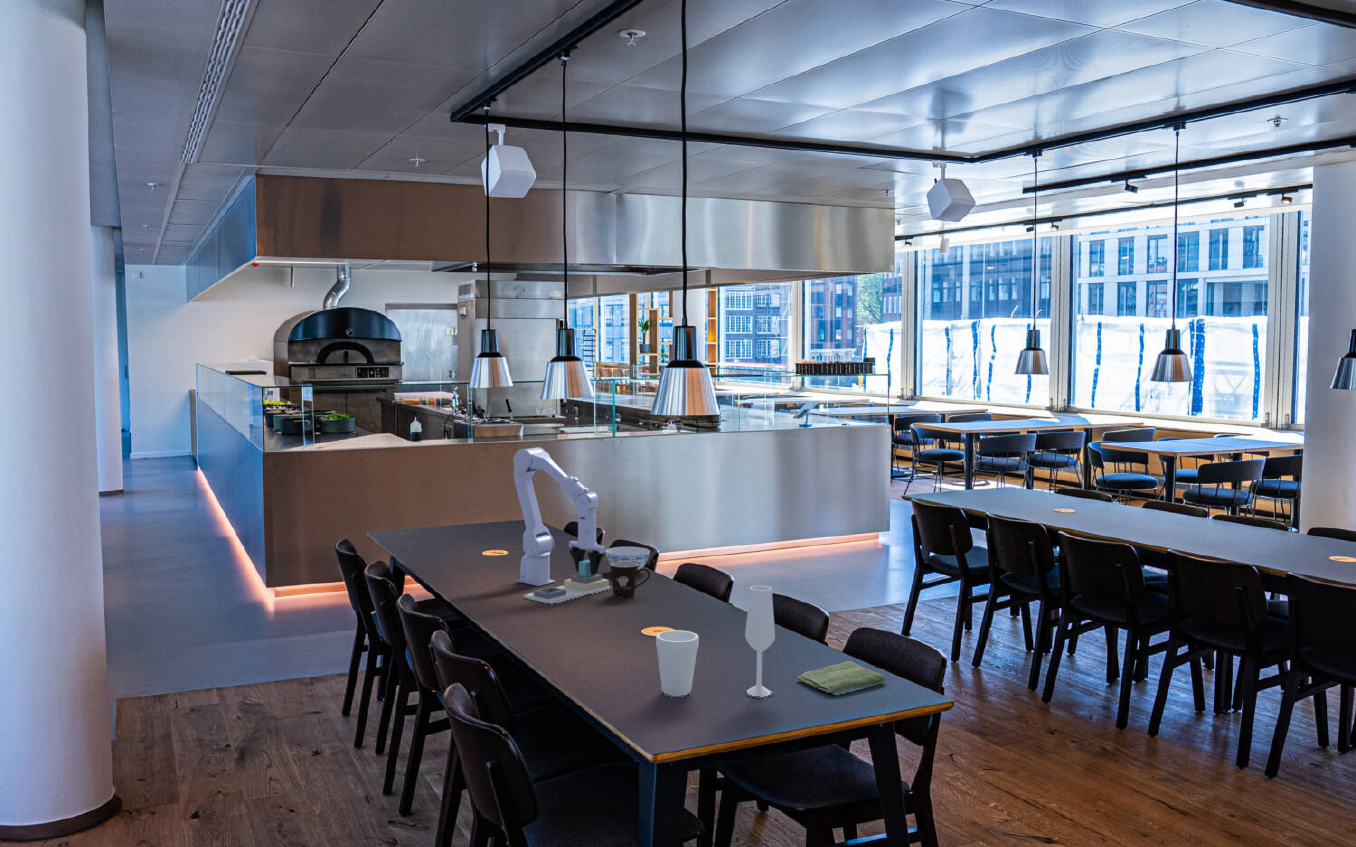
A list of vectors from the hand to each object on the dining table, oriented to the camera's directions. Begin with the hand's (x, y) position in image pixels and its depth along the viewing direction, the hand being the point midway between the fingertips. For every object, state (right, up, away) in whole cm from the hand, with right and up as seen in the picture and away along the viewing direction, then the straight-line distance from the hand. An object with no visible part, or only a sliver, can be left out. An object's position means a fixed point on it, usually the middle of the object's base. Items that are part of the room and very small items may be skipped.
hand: (586, 572), depth 325 cm
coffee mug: (+14, -6, -8) cm, 17 cm away
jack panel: (-5, -6, -6) cm, 10 cm away
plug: (0, -2, 0) cm, 2 cm away
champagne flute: (+47, -13, -96) cm, 108 cm away
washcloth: (+67, -14, -88) cm, 111 cm away
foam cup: (+29, -13, -97) cm, 102 cm away
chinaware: (+12, -4, +25) cm, 28 cm away
